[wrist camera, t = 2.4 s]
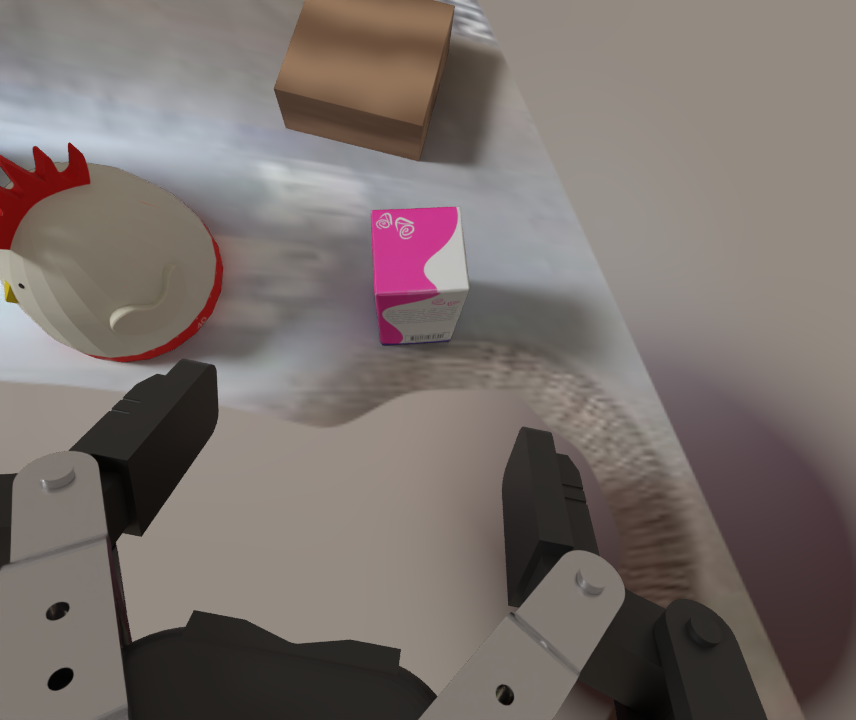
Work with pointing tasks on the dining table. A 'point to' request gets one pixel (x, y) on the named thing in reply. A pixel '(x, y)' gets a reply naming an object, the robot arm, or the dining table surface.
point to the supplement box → (418, 273)
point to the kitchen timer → (105, 258)
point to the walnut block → (366, 71)
